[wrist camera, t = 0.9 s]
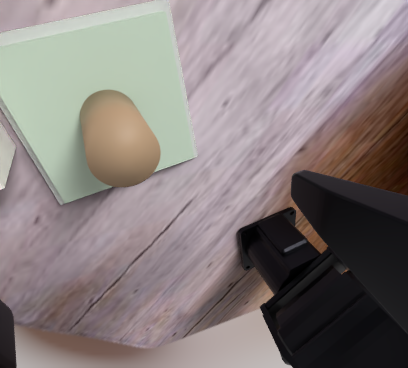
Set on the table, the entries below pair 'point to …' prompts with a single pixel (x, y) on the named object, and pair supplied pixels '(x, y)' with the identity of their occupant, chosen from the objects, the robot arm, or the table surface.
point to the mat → (82, 22)
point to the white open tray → (5, 155)
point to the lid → (99, 103)
